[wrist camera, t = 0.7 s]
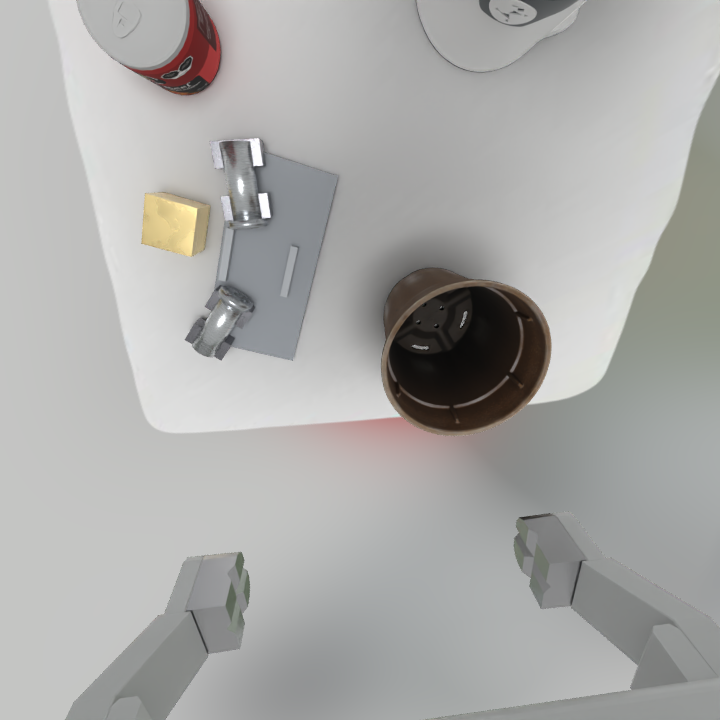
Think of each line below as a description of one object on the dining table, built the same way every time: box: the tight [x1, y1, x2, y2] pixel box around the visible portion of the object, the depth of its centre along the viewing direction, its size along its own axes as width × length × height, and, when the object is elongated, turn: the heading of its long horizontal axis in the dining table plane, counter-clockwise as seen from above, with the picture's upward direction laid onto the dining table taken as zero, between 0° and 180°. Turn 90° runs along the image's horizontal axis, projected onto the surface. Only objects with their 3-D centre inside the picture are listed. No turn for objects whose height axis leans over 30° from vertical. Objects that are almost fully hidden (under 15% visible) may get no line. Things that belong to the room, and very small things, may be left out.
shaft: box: [210, 138, 273, 229], centre depth 40 cm, size 8×5×4 cm, turn 3°
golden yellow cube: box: [141, 192, 210, 257], centre depth 42 cm, size 5×5×5 cm
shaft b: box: [185, 285, 255, 360], centre depth 46 cm, size 8×5×4 cm, turn 143°
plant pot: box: [381, 268, 551, 436], centre depth 44 cm, size 16×16×16 cm
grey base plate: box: [211, 152, 338, 361], centre depth 46 cm, size 23×11×2 cm, turn 163°
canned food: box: [76, 0, 220, 95], centre depth 33 cm, size 8×8×11 cm
